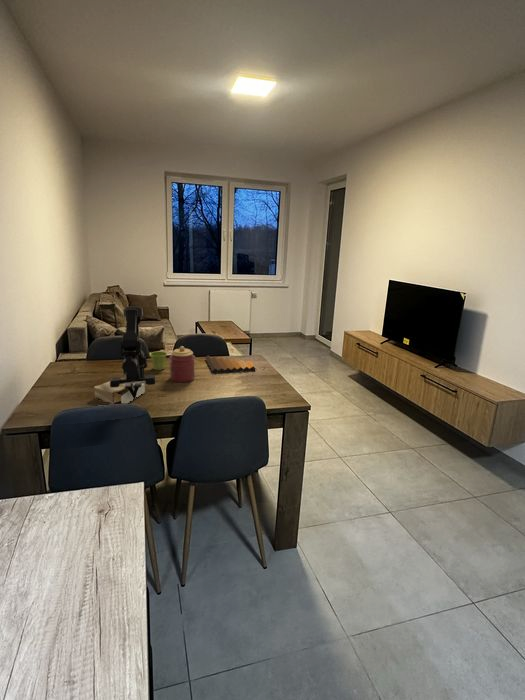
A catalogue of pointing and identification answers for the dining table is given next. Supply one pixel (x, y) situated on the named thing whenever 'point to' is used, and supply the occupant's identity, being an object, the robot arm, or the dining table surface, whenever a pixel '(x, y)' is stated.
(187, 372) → the canister
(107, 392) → the cabinet
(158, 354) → the plant pot
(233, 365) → the scalloped wooden trivet
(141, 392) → the white flat slab piece
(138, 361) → the robot arm
